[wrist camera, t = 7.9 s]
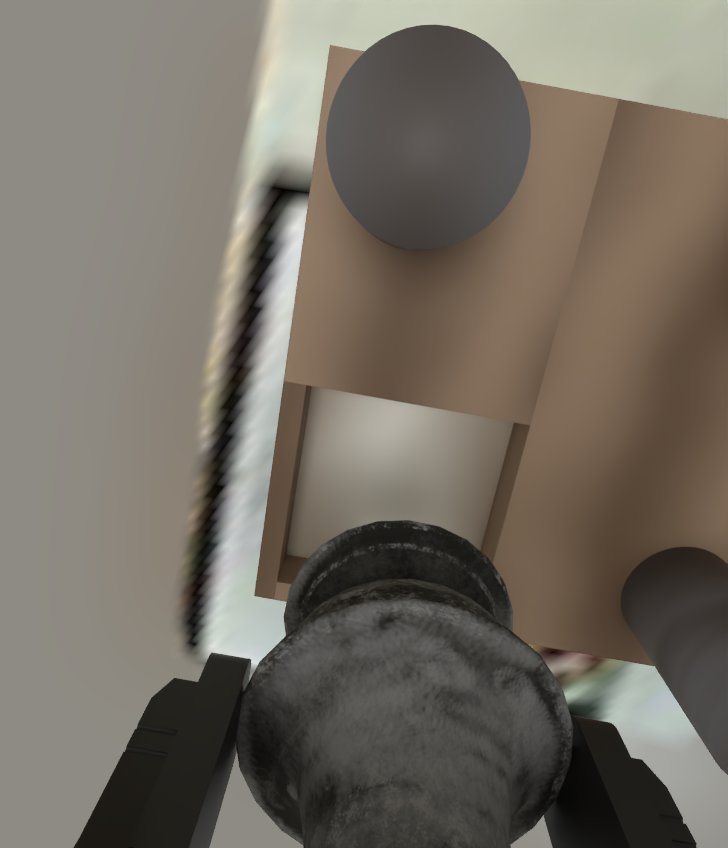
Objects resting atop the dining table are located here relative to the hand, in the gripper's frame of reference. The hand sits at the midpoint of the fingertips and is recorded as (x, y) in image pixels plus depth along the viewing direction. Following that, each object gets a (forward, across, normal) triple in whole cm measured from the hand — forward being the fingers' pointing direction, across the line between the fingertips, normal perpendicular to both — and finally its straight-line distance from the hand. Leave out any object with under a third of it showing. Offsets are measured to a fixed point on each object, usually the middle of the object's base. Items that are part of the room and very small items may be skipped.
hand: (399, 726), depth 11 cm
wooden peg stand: (+13, -5, -4) cm, 14 cm away
